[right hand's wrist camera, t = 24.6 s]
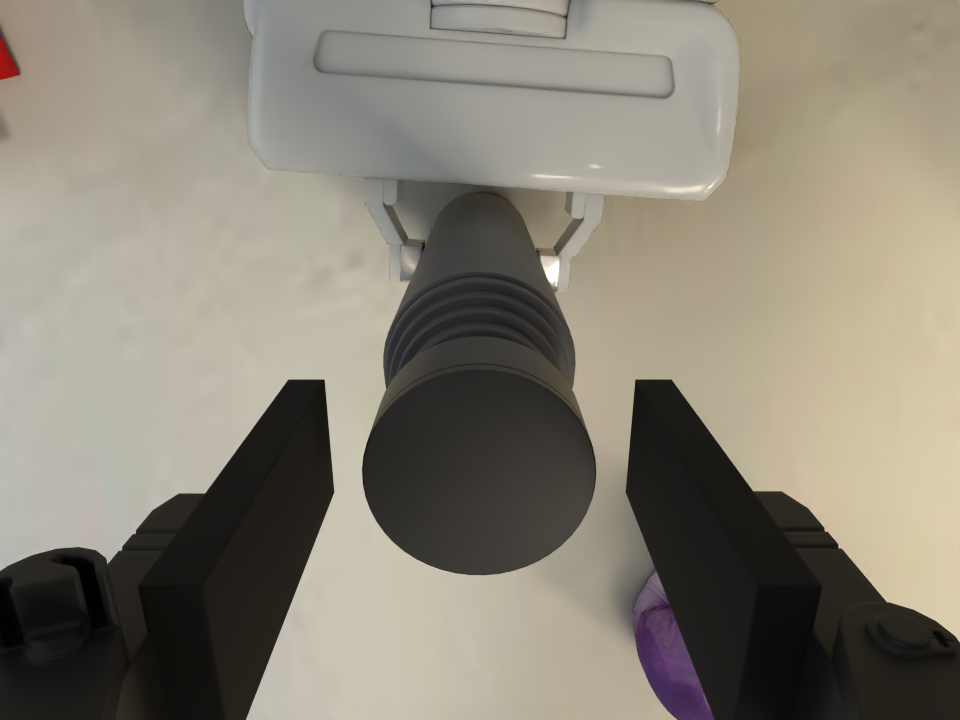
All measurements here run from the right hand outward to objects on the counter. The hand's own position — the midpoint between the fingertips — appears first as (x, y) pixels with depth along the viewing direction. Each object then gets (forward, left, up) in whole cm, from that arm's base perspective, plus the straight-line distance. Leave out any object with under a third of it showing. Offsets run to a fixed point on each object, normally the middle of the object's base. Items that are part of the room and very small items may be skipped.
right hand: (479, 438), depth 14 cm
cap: (0, 0, +1) cm, 1 cm away
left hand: (-1, +1, -18) cm, 18 cm away
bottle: (0, 0, -24) cm, 24 cm away
